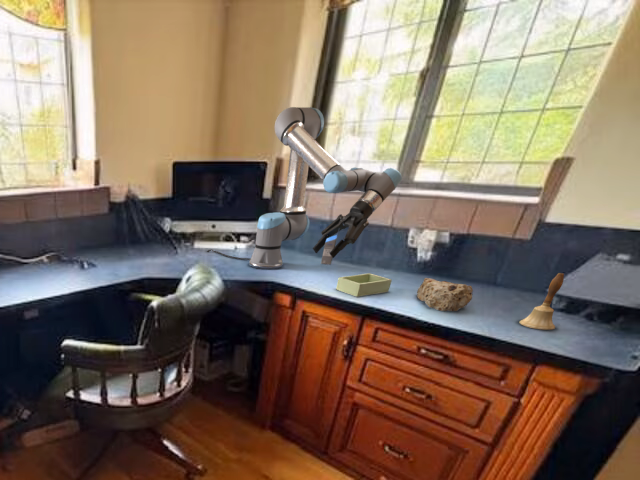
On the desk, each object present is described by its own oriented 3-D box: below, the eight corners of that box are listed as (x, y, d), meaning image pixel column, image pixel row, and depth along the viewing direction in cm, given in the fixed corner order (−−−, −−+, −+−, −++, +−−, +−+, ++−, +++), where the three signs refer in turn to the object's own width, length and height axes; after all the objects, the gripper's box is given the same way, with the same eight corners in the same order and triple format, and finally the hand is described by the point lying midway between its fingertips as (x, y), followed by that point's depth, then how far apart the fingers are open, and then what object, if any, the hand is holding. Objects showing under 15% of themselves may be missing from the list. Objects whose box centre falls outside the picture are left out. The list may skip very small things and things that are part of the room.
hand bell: (514, 319, 134) (536, 269, 126) (545, 321, 132) (570, 270, 124) (527, 329, 127) (551, 276, 119) (560, 331, 125) (588, 278, 117)
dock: (335, 289, 167) (338, 277, 164) (366, 284, 171) (369, 273, 169) (356, 296, 158) (360, 284, 155) (388, 291, 162) (392, 279, 160)
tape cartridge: (322, 259, 171) (328, 227, 165) (332, 259, 170) (339, 227, 164) (320, 264, 164) (327, 231, 158) (331, 264, 163) (338, 231, 157)
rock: (407, 295, 160) (422, 270, 155) (447, 307, 157) (463, 281, 153) (424, 307, 142) (441, 278, 137) (470, 320, 139) (488, 291, 135)
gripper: (392, 217, 154) (347, 265, 158) (347, 210, 172) (308, 253, 175) (385, 202, 150) (339, 252, 154) (340, 197, 168) (300, 241, 171)
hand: (322, 253), depth 165 cm, fingers closed on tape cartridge, 8 cm apart
